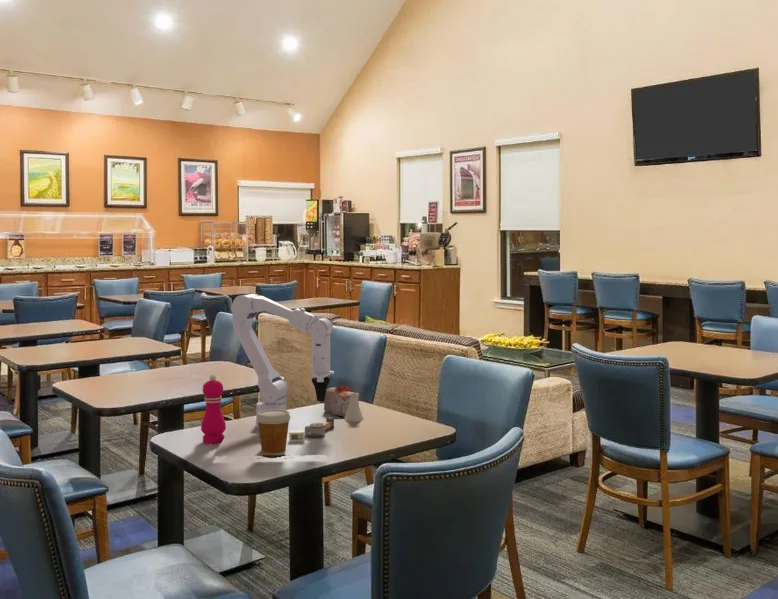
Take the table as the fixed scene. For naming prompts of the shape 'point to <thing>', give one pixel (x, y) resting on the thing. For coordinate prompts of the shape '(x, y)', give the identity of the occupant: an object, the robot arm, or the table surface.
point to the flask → (353, 409)
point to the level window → (297, 436)
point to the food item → (337, 400)
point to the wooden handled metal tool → (319, 428)
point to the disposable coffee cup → (273, 431)
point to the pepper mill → (213, 412)
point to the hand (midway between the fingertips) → (320, 400)
